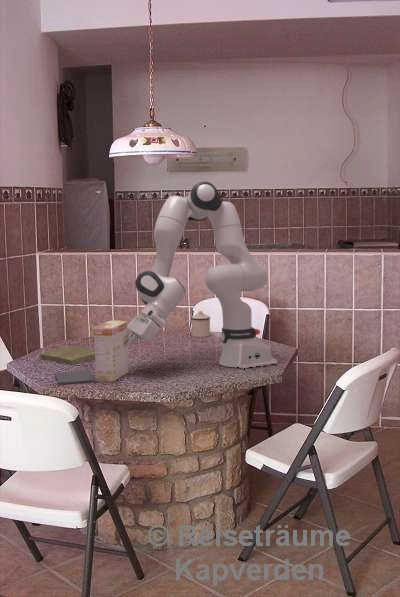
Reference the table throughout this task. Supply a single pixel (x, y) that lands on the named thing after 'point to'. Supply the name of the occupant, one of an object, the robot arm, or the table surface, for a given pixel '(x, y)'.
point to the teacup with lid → (199, 325)
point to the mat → (75, 377)
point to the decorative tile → (69, 355)
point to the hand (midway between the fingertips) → (127, 344)
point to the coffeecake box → (111, 350)
